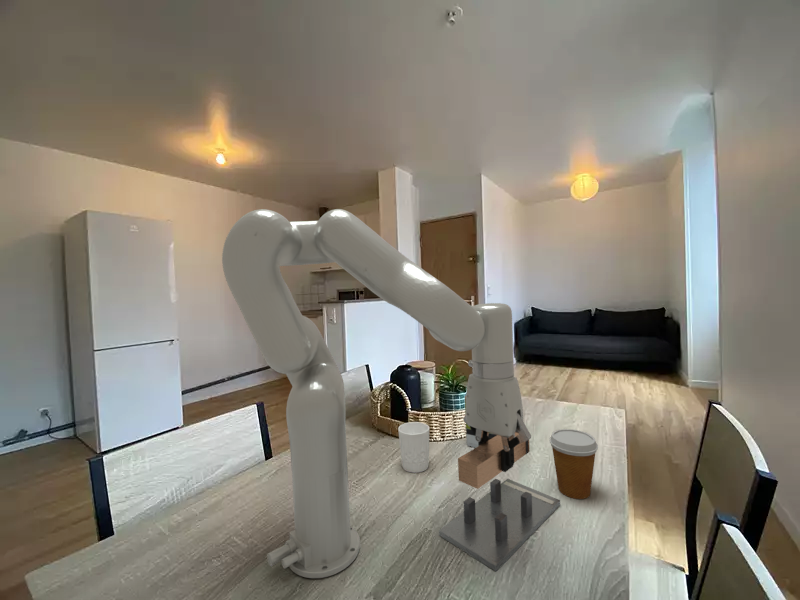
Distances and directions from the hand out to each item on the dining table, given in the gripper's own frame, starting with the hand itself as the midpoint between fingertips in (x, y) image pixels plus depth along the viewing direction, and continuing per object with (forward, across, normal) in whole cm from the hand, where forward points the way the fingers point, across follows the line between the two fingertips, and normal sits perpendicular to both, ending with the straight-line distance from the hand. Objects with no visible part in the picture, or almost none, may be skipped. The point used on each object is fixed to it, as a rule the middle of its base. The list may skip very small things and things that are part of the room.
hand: (496, 463), depth 68 cm
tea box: (+12, -21, +31) cm, 39 cm away
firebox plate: (+12, 0, +2) cm, 12 cm away
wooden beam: (0, 0, 0) cm, 0 cm away
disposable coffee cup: (+12, +6, +21) cm, 25 cm away
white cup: (+12, -27, +5) cm, 30 cm away
